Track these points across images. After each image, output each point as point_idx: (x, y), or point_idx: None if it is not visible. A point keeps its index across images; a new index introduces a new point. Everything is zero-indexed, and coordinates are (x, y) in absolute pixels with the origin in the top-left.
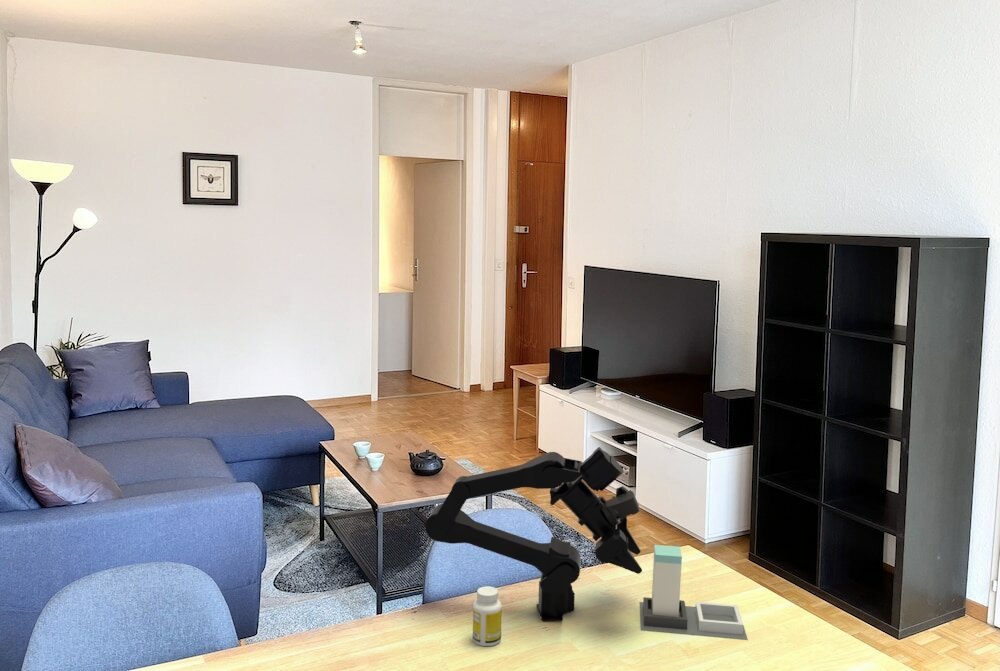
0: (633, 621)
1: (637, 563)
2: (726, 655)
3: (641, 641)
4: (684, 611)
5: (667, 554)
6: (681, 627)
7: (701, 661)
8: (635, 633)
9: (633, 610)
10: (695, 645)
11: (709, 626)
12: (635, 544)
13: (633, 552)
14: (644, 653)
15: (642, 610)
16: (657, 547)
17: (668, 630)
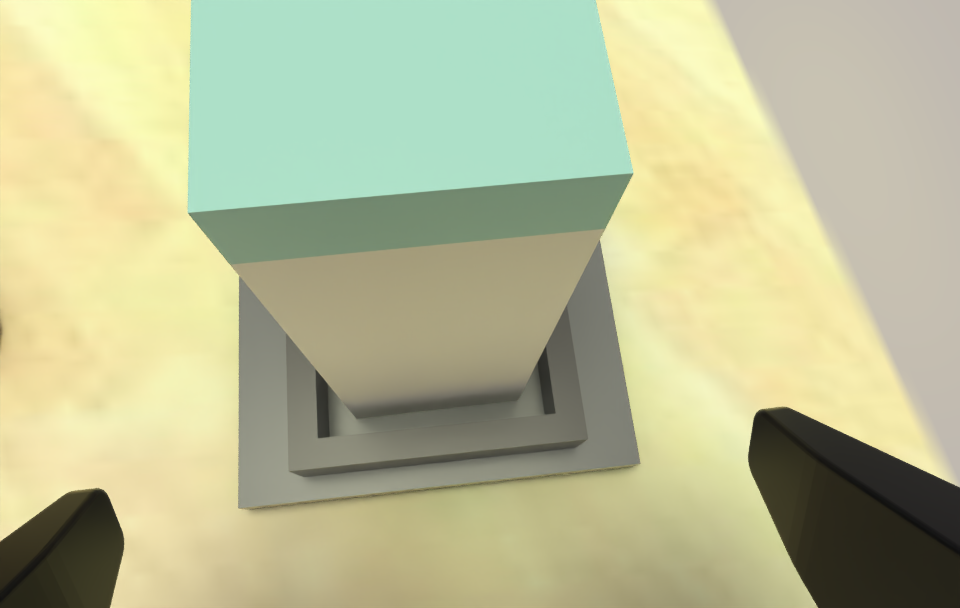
0: (469, 527)
1: (887, 463)
2: (674, 54)
3: (702, 454)
4: None
5: (551, 15)
6: None
7: (776, 153)
8: (620, 499)
9: (313, 543)
10: (633, 179)
11: None
12: (21, 586)
13: (106, 604)
14: None
15: (364, 475)
16: (303, 158)
17: (584, 302)
